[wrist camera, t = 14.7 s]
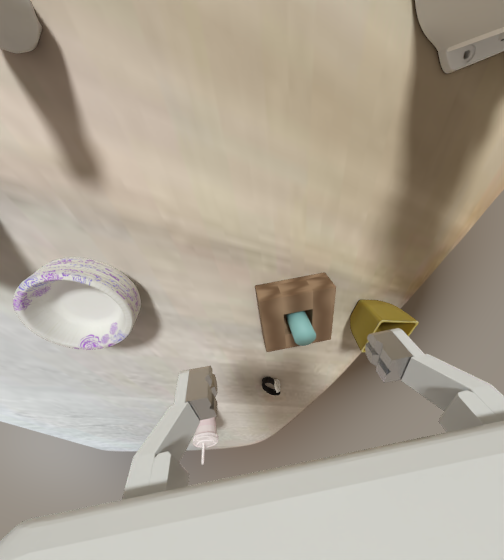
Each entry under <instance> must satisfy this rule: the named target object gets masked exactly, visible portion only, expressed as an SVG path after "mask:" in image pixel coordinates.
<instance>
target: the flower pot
mask: <svg viewBox="0 0 504 560" xmlns="http://www.w3.org/2000/svg"><path fill="white" fill-rule="evenodd" d="M418 323H419V322H418V321H417V320H415V319H414V318H413V317H411V316H410V315H408V314H407V313H405V312H404V311H402V310H401V309H400V308H398V307H396V306H394V305H392V304H389V303H386V302H382V301H378V300H359V301H358V303H357V305H356V307H355V309H354V311H353V312H352V314H351V317H350V327H351V331H352V334H353V336H354V338H355V340H356V342H357V344H358V346H359V348H360V350H361V352H366V351H365V346H366V344H367V343H368V342H369V341H368V339H367V337H368V335H369V334H371V333H376V332H380V331H385V330H391V329H396V328H400V329H402V330H403V331H404V332H405V333H406V335H407V336H409V335H410V334H411V333H412V331H413V330H414V328H415V327H416V326H417V325H418Z"/></svg>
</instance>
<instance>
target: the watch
mask: <svg viewBox="0 0 504 560" xmlns="http://www.w3.org/2000/svg"><path fill="white" fill-rule="evenodd" d="M265 383H271V384H273V385H274V387H275V389H271V388H269V387H267V386H266V385H265ZM262 387H263V389H264V391H266V392H267V393H269V394H271V395H279V394H280V383H279V380H278V379H273V378H270V377H265V378H263V380H262Z"/></svg>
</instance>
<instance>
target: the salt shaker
mask: <svg viewBox="0 0 504 560" xmlns="http://www.w3.org/2000/svg"><path fill="white" fill-rule="evenodd" d="M41 31H42V26H41V24H40V22H39V20H38V18H37V16H36V14H35V11H34V8H33V5H32V2H31V1H30V0H0V49H3V50H6V51H9V52H12V53H23V52H29V51H32V50H33V49H34V48H36V47H37V44H38V41H39V37H40V34H41Z"/></svg>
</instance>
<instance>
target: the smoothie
mask: <svg viewBox="0 0 504 560" xmlns="http://www.w3.org/2000/svg"><path fill="white" fill-rule="evenodd" d="M217 442H218V435H217V430H216V421H215V417H213V418H209V419H204V420H200V423H199V425H198V427H197V429H196V431H195V437H194V438H193V445H194V446H196V447H199V448H202V465H203V464H204V448H206V447H211V446H214V445H215V444H217Z"/></svg>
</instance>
